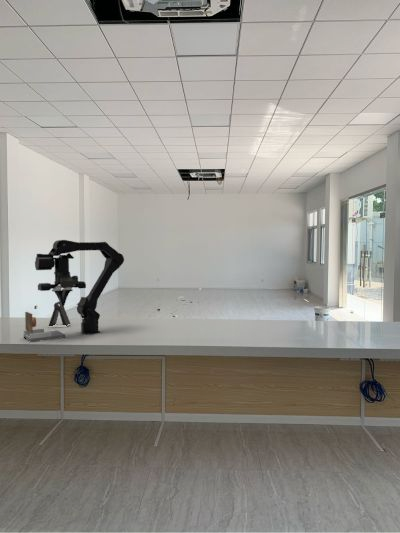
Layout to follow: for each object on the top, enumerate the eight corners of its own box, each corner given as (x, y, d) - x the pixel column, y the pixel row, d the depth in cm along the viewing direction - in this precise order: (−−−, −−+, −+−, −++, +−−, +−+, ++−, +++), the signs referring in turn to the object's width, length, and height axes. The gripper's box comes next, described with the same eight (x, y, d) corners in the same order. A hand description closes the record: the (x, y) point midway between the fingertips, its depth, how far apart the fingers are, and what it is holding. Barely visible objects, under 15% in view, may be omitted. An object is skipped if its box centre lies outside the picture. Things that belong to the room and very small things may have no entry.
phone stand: (70, 325, 195) (70, 300, 195) (67, 327, 189) (66, 302, 189) (52, 325, 195) (51, 301, 194) (48, 327, 189) (47, 302, 188)
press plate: (32, 328, 168) (32, 311, 168) (37, 331, 162) (37, 313, 162) (25, 329, 167) (25, 311, 166) (30, 332, 160) (30, 314, 160)
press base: (57, 333, 176) (57, 326, 176) (65, 337, 167) (65, 330, 167) (23, 337, 168) (23, 330, 168) (30, 342, 159) (30, 334, 159)
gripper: (44, 271, 156) (45, 310, 157) (90, 269, 167) (91, 306, 168) (36, 270, 165) (37, 307, 166) (80, 268, 176) (81, 303, 177)
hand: (62, 306), depth 169 cm, fingers closed
